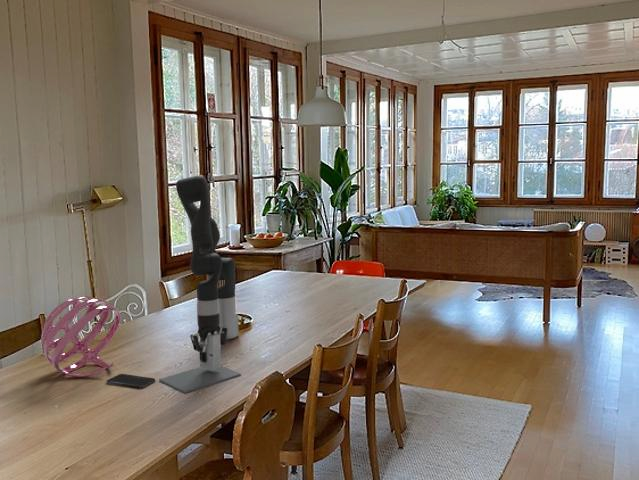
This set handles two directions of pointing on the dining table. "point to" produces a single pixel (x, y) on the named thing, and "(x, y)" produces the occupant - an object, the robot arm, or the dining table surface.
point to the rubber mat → (198, 378)
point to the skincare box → (212, 353)
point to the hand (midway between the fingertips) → (210, 359)
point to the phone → (131, 381)
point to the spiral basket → (72, 333)
